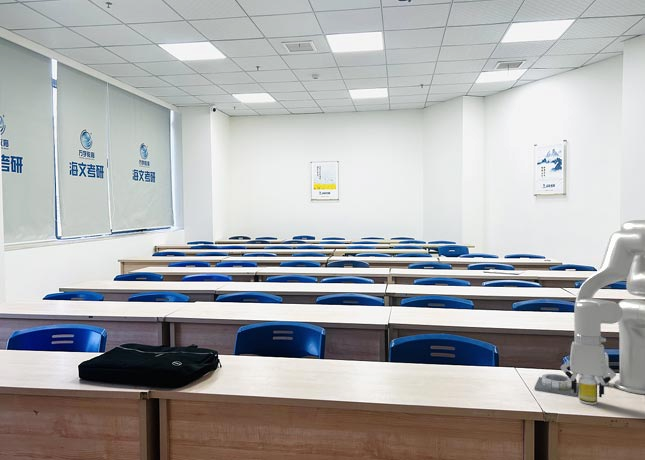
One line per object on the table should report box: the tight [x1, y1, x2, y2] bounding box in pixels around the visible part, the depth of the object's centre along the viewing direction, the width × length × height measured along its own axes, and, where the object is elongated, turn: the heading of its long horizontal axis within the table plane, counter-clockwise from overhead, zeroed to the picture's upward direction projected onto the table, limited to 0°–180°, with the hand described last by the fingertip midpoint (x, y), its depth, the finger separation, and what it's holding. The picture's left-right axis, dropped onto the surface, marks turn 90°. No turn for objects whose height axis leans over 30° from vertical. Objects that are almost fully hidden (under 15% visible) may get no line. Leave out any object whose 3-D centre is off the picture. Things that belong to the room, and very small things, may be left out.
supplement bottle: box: [577, 374, 598, 405], centre depth 154 cm, size 5×5×10 cm
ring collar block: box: [534, 373, 578, 397], centre depth 168 cm, size 13×13×4 cm
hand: (587, 393), depth 154 cm, fingers open, 6 cm apart
